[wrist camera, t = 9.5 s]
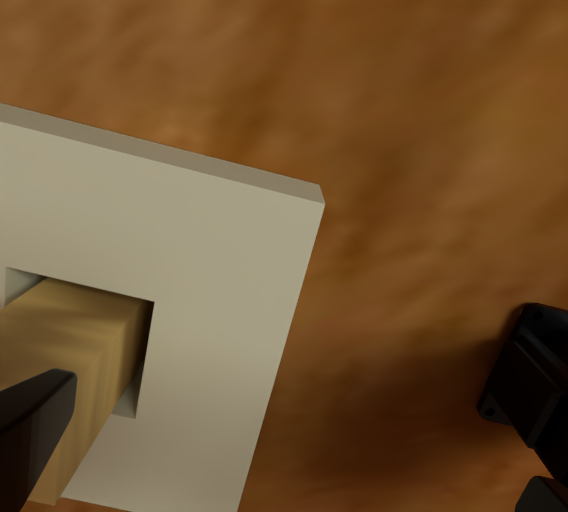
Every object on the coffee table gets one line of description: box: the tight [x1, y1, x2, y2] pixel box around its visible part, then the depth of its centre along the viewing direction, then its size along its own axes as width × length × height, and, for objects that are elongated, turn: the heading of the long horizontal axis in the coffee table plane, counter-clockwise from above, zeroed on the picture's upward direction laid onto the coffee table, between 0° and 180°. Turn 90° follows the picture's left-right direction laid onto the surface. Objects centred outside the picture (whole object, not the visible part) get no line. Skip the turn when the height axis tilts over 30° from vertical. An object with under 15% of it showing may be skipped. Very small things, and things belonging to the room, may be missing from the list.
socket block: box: [0, 103, 325, 512], centre depth 19 cm, size 16×16×4 cm
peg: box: [0, 277, 155, 506], centre depth 17 cm, size 4×4×9 cm
